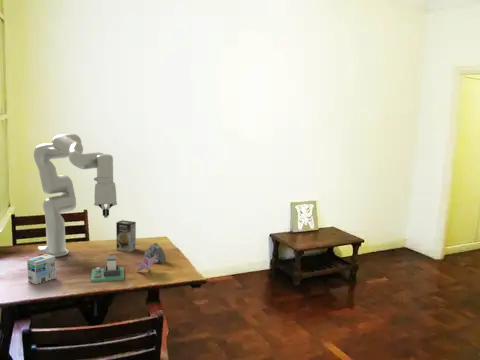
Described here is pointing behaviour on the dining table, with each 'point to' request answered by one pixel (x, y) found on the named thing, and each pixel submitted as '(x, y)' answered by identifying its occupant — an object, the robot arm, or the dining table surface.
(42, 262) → the light bulb box
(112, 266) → the plug
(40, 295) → the dining table surface
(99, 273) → the board
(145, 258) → the lily
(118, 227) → the coffee box
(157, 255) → the mineral rock
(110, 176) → the robot arm
